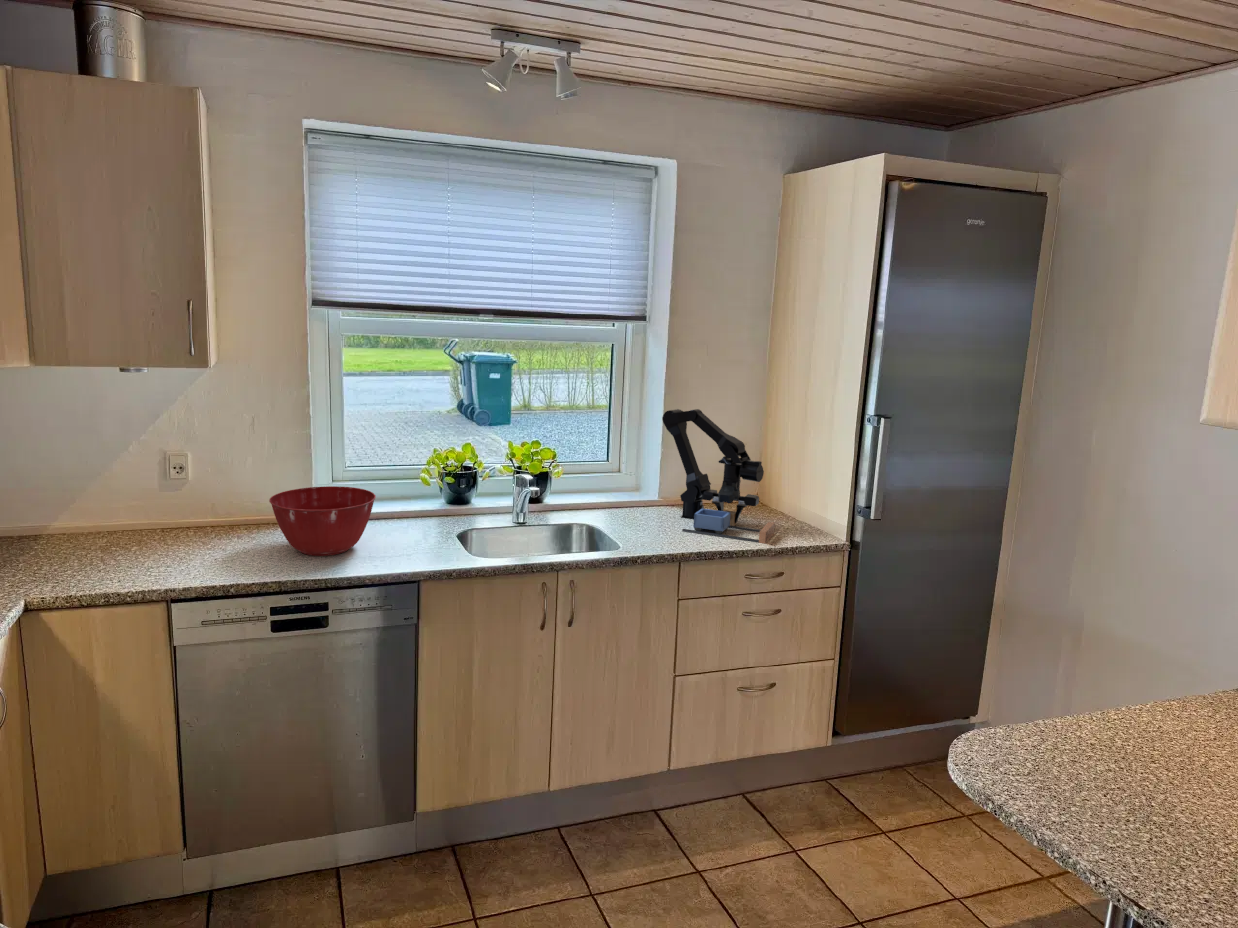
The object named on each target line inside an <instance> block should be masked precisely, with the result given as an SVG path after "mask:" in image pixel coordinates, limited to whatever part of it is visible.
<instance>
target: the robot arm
mask: <svg viewBox="0 0 1238 928" xmlns="http://www.w3.org/2000/svg"><path fill="white" fill-rule="evenodd" d="M661 418H662V423H663V425H664V426H665V428H666V430H667V431H668V432H669V434H670V435H671V436H672V437H673V440H674V442H675V446H676V449H677V451H678V455H679V457H680V460H681V463H682V466H683V469H684V471H685V472H684V473H685V474H686V478H685V487H686V490H685V491H684V492H682V493H681V494H680V495H679V497H680V500H681V502H682V513H681V516H680V518H681V519H688V520H693V521H694V514H695V513H696V512H698V511H699V510H700V509H705V505H704V504H703V502H704V501H711V504H714V505H715V507H716V509H717V511H724V510H725V509H724V508H725V507H724V506H725V505H724V504H725V503H727V504H732V503H733V502H738V503H737V504H736V510H735V512H736V515H735V523H738V520H739V518H740V516H741V513H742V511H743V510H744V508H746V507H749V506H750V507H757V506H758V505H759V503H760V497H759V495H758V494H750V493H747V494H746V495H745V496H743V495H741V491H740V490H741V489H740V488H741V481H742V480H744V481H745V480H746V481H751V482H758V483H761V481H762V480H763V478H764V474H765V473H764V472H765V471H764V467H763V465H762V461H760V460H751V457H750V456H749V454H748V452H747V450H746V445H745V443H744V442H743V441H742V440H740V439H739V438H736V436H733V435H731V434H728V433H727V432H725V431H724V430H723V429H722V428H720V427H719V426H718V425H717V424H716V423H714V421H712V420H711V419H710V417H708V416H707V415H705V414H704V413H703V412H702V410H701V409H699V408H695V409H690V410H684V411H683V410H682V409H679V408H676V409H670V410H666V411H665V412H664V413H663V415H662V417H661ZM688 422H692V423H693V424H694V425H696V426H697V428H699V429H700V430H701V431H703V433H705V434H706V435H707V436H708V437H709V438H710V439H711V440H712V441H714V442H715V444H716V445H717V447H718V450H719V451H720V452H721V453H722V455H723V456H722V458H721V459H719V460H718V463H719V464H723V465H724V467H723V468H724V469H723V478H722V479H723V480H722V483H721V487H720V488H719V491H718V490H717V489H712V488H711V485H712V483H711V481H710V479H709V475H708V473H704V474H703V473H702V472H701V471H700V468H699V465H698V462H697V460H696V457H695V454H694V450H693V448H692V445H691V442H690V439H689V437H688V434H687V427H688ZM741 479H742V480H741ZM703 500H704V501H703Z"/></svg>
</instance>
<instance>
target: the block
mask: <svg viewBox="0 0 1238 928" xmlns="http://www.w3.org/2000/svg"><path fill="white" fill-rule="evenodd" d="M724 511H725V512H731V516H730V525H731V526H737V523H738V522H737V523H735V515H736V510H729V509H727V510H726V509H724Z"/></svg>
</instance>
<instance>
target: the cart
mask: <svg viewBox="0 0 1238 928" xmlns="http://www.w3.org/2000/svg"><path fill="white" fill-rule="evenodd" d="M730 516H731V512H725V511H718V509H717V510H715V509H709V508H704V509H700V510H699V511H698V512H696V513H695V514H694V520H693V526H692V527H693V528H694V530H695V531H703V530H704V529H705V530H710V531H714V533H716V534H723V532H724V531H725V530H727V529H729V528H728V527H729V526H730Z"/></svg>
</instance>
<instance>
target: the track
mask: <svg viewBox="0 0 1238 928" xmlns="http://www.w3.org/2000/svg"><path fill="white" fill-rule="evenodd" d="M775 525H776V522H772V521H768V522H767V523H766V524H765V525H764V526H763V528H761V529H759V528H751V527H745V526H744V527H743V526H737V525H735V526H731V525H730V526H729V527H728V528H727V529H734V530H741V531H748V532H754V533H755V532H756V533H759V535H758V536H759V538H758V539H756V538H750V537H749V538H748V537H743V536H735V535H728V534H723V533H721V534H716V533H715V532H707V531H703V530H701V531H696V530H695V529H694V530H693V529H687V528H682V531H681V532H684V533H690V534H697V535H704V536H710V537H711V536H712V537H717V538H724V539H725V538H726V539H732V540H737V541H738V540H739V541H745V542H751V543H758V544H767V542H768V541H769V540H770V539H771V538H772V537H773V536H774V534H775Z"/></svg>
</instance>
